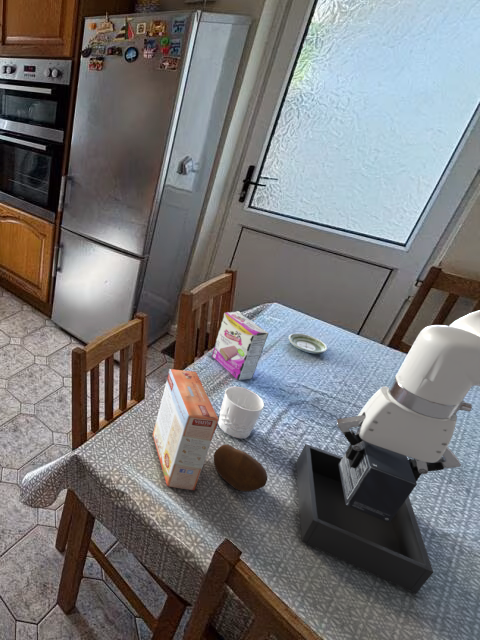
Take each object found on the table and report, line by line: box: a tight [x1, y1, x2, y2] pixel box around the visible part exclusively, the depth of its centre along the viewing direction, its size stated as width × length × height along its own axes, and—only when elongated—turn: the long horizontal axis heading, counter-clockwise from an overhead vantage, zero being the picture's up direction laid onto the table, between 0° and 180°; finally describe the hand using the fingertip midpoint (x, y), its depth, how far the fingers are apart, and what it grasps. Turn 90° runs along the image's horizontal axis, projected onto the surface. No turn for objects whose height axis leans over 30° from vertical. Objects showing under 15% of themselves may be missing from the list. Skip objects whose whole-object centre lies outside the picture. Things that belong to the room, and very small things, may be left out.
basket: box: [295, 443, 434, 595], centre depth 79 cm, size 16×20×7 cm
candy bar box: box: [211, 310, 269, 381], centre depth 118 cm, size 11×5×16 cm, turn 9°
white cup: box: [217, 385, 265, 439], centre depth 99 cm, size 8×8×10 cm
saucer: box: [288, 332, 328, 354], centre depth 128 cm, size 10×10×2 cm
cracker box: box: [152, 368, 219, 491], centre depth 89 cm, size 14×6×21 cm, turn 170°
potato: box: [213, 443, 268, 492], centre depth 87 cm, size 7×10×8 cm
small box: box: [339, 426, 418, 523], centre depth 75 cm, size 11×6×10 cm, turn 147°
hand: (377, 470), depth 75 cm, fingers closed on small box, 6 cm apart
